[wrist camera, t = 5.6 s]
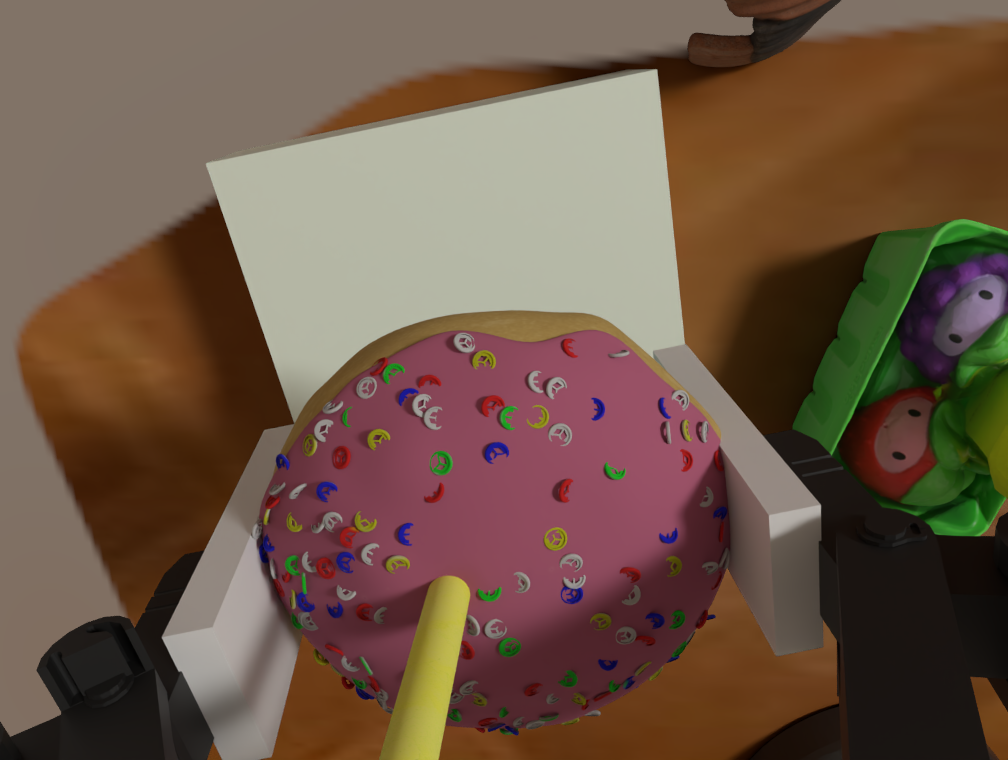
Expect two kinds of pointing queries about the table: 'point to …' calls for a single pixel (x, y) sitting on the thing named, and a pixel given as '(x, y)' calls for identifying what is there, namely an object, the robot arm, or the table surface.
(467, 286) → the sage stand
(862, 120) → the table surface
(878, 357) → the fruit basket
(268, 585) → the robot arm
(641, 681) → the cupcake
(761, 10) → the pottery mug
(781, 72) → the table surface
